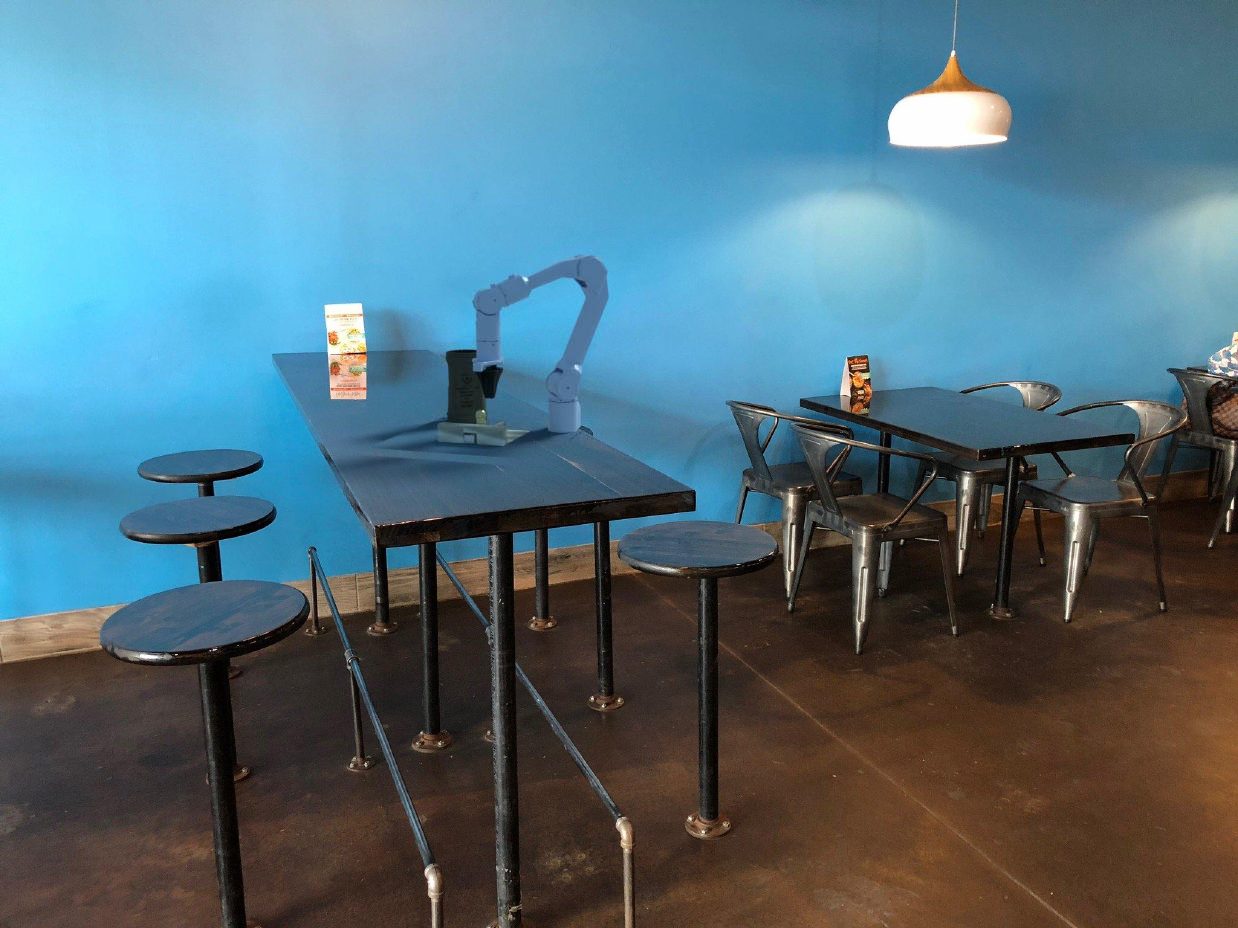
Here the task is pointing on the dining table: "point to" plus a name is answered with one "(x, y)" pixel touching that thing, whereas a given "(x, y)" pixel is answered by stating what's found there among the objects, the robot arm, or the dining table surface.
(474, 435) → the bolt
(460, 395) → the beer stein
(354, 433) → the dining table surface
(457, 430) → the door board
